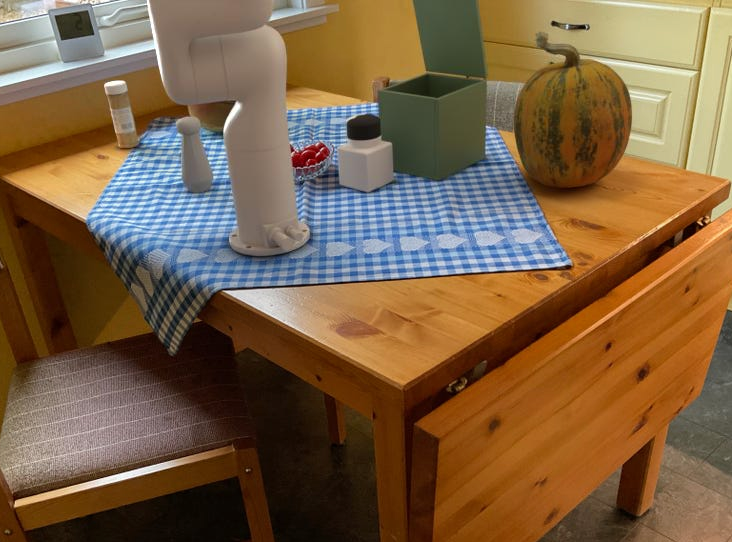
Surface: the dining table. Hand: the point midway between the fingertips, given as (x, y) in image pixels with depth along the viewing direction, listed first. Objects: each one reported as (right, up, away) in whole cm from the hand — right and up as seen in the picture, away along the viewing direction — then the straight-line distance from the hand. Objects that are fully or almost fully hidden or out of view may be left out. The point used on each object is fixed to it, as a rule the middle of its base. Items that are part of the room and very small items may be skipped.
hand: (225, 32), depth 139 cm
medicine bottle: (+25, -25, +5) cm, 36 cm away
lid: (+39, +1, +3) cm, 39 cm away
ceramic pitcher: (-4, -4, +42) cm, 43 cm away
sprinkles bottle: (-27, -10, +35) cm, 46 cm away
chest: (+37, -20, +12) cm, 44 cm away
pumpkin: (+59, -26, -1) cm, 65 cm away
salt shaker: (-6, -26, +9) cm, 28 cm away
